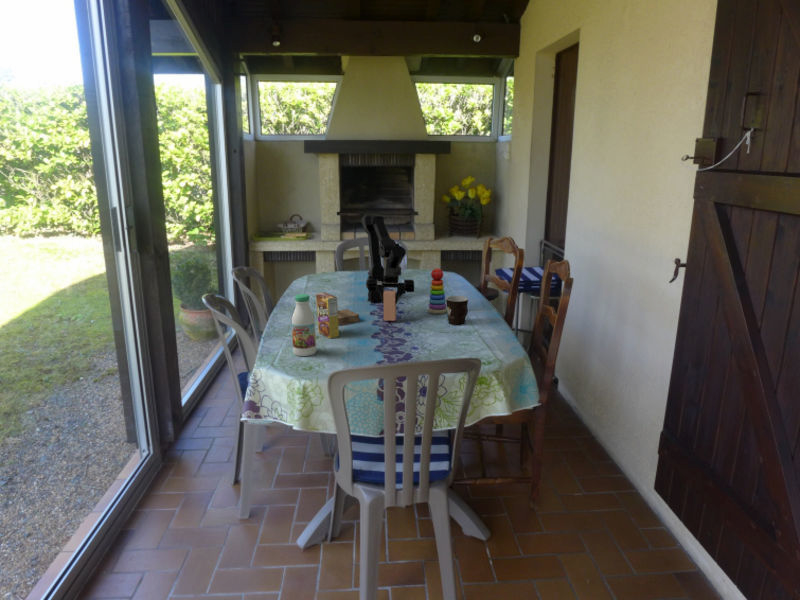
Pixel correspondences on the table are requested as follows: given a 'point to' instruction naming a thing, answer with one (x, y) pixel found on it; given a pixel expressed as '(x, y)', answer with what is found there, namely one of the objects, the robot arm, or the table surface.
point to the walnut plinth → (347, 317)
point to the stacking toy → (437, 293)
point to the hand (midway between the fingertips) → (389, 303)
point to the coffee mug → (457, 309)
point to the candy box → (327, 315)
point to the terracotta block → (389, 305)
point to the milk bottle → (303, 327)
